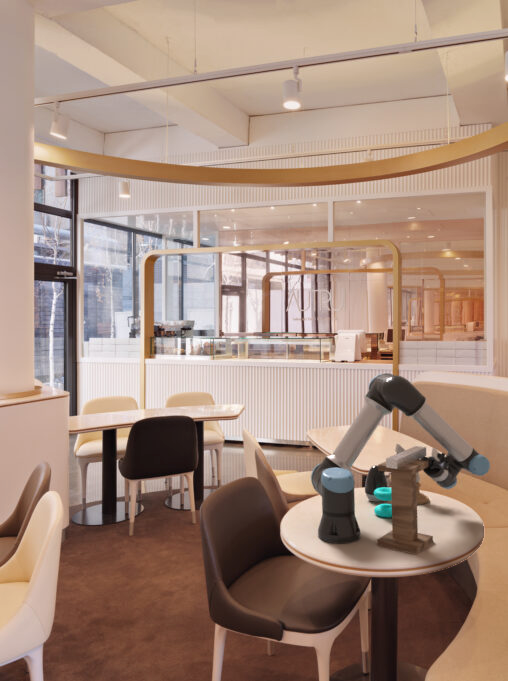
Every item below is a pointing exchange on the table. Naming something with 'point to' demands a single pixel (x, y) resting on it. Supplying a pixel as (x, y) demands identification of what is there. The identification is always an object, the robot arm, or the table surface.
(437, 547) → the table surface
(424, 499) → the candle holder
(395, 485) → the stand
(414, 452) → the grey block
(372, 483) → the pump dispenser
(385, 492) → the donuts
